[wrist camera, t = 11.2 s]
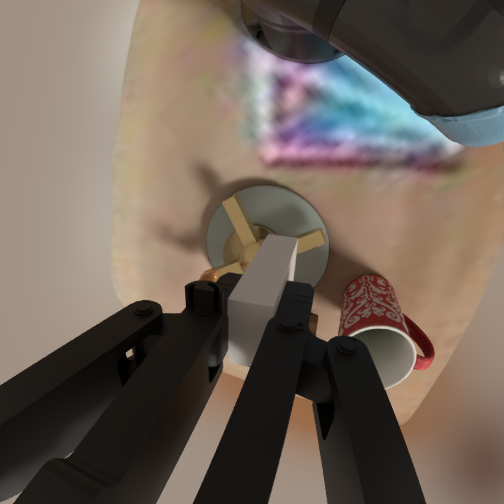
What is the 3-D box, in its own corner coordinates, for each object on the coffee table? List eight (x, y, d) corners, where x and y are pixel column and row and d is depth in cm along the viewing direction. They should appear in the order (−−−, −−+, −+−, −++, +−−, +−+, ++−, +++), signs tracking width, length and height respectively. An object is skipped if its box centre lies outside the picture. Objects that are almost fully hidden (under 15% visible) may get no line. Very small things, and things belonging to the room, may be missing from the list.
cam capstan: (296, 165, 37) (288, 173, 31) (347, 282, 41) (347, 310, 34) (184, 218, 43) (159, 234, 37) (238, 317, 47) (223, 345, 40)
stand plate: (211, 179, 41) (206, 181, 40) (336, 192, 38) (336, 195, 37) (210, 288, 48) (206, 293, 46) (319, 306, 44) (319, 312, 43)
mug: (325, 313, 45) (318, 379, 33) (351, 258, 41) (354, 314, 29) (402, 339, 43) (415, 406, 31) (432, 289, 39) (459, 349, 27)
